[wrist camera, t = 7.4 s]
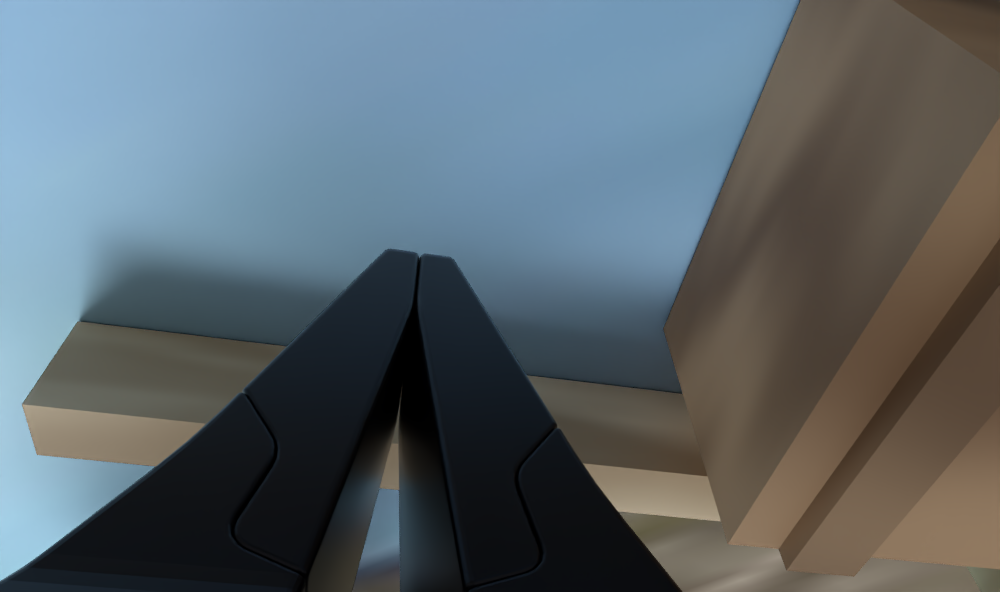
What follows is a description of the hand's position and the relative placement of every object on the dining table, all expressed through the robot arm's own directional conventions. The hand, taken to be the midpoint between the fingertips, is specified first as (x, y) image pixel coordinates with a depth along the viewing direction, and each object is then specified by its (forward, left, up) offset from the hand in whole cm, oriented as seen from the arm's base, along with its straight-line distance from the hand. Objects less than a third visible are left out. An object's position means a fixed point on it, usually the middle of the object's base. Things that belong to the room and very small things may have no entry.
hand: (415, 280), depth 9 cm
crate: (0, -10, -5) cm, 11 cm away
